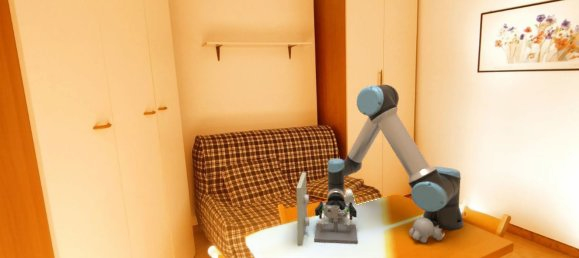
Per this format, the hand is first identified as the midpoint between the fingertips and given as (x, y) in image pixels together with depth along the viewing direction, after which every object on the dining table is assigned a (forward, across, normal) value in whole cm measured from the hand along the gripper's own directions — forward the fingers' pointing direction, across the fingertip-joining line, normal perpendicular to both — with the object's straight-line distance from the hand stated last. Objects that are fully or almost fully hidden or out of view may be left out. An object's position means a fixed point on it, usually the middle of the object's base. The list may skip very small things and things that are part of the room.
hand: (335, 221), depth 127 cm
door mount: (-5, +3, -7) cm, 9 cm away
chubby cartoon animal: (-3, -34, -8) cm, 35 cm away
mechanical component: (-5, 0, -6) cm, 8 cm away
